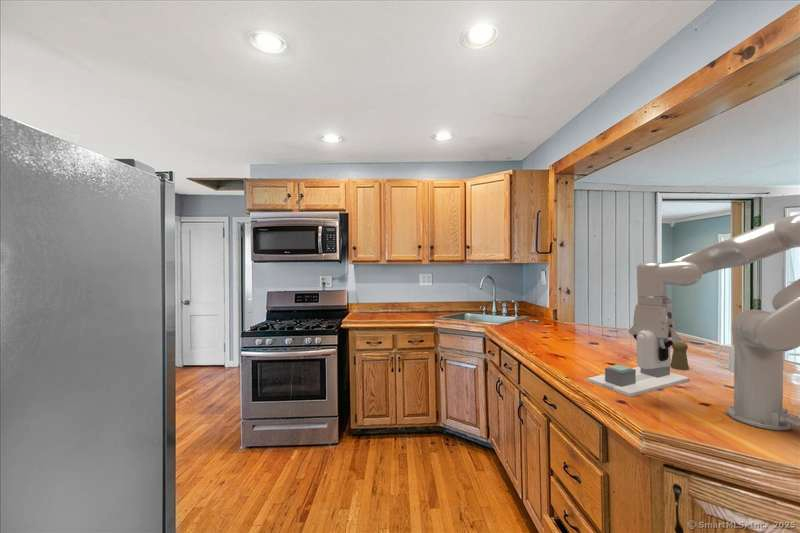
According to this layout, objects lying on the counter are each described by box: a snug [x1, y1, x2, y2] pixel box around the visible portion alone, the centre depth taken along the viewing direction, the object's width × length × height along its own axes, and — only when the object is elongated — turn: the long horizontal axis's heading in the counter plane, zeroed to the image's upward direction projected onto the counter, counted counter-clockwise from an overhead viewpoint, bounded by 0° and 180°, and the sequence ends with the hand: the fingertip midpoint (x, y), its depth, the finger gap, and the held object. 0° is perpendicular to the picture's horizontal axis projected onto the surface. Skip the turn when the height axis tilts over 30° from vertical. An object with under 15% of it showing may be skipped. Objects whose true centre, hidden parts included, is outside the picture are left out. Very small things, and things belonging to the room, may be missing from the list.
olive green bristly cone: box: [670, 341, 689, 371], centre depth 140 cm, size 6×6×11 cm
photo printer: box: [636, 329, 672, 369], centre depth 106 cm, size 10×4×12 cm, turn 103°
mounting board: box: [586, 364, 690, 398], centre depth 126 cm, size 16×35×10 cm, turn 113°
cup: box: [716, 344, 735, 374], centre depth 135 cm, size 8×12×10 cm
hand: (653, 357), depth 106 cm, fingers closed on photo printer, 4 cm apart
